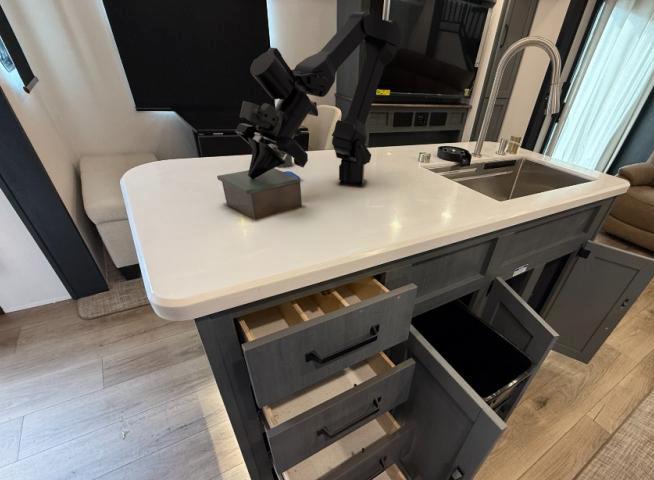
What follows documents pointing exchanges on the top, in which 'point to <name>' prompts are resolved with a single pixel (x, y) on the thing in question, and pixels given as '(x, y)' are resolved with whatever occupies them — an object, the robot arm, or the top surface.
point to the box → (264, 200)
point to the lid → (258, 180)
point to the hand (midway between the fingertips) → (250, 177)
